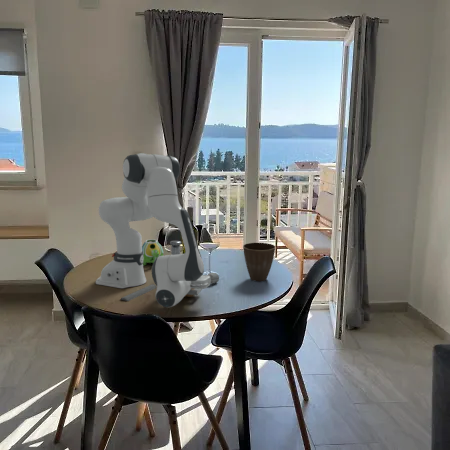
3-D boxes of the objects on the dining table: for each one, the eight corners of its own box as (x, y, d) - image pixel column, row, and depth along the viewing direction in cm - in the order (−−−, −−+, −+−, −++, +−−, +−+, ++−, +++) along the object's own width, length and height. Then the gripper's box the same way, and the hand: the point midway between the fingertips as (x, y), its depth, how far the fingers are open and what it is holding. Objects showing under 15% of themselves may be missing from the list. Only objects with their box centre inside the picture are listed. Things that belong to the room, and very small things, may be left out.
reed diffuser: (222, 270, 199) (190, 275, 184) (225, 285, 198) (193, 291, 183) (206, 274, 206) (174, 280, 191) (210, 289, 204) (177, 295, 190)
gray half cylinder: (119, 300, 178) (119, 296, 178) (149, 287, 195) (149, 283, 195) (127, 302, 176) (127, 298, 176) (157, 288, 193) (157, 285, 193)
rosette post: (163, 298, 180) (163, 245, 176) (172, 289, 190) (172, 240, 186) (197, 301, 177) (197, 248, 173) (204, 292, 187) (204, 242, 183)
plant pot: (272, 285, 198) (273, 250, 195) (240, 283, 200) (240, 249, 197) (275, 275, 212) (276, 243, 209) (245, 273, 215) (245, 241, 212)
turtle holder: (143, 269, 220) (143, 246, 218) (138, 260, 237) (137, 238, 234) (168, 267, 224) (167, 244, 222) (161, 258, 241) (160, 237, 238)
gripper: (205, 278, 165) (214, 268, 178) (154, 274, 169) (167, 265, 182) (205, 295, 166) (214, 283, 179) (155, 290, 170) (167, 279, 183)
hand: (190, 274), depth 181 cm, fingers closed on wedge pin, 4 cm apart
